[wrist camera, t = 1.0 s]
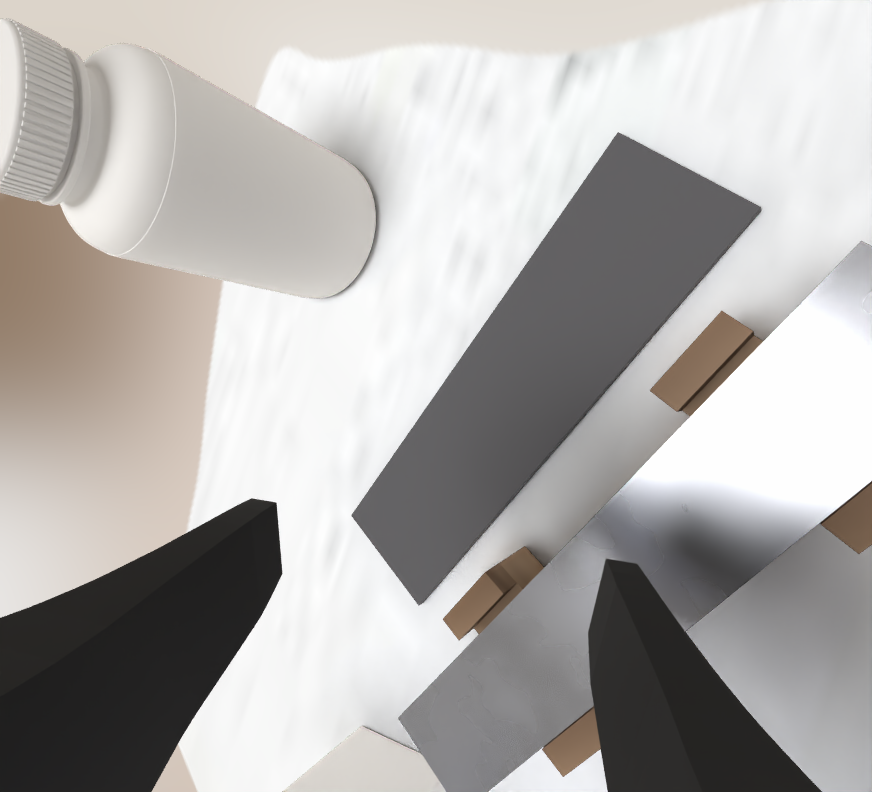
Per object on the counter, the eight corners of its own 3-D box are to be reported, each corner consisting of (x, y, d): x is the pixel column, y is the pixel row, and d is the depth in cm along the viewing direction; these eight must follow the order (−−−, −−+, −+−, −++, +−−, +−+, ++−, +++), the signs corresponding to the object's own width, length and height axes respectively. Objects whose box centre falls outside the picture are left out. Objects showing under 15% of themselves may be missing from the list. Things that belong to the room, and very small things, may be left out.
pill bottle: (400, 175, 25) (47, -35, 13) (352, 320, 27) (6, 262, 15) (306, 148, 29) (-34, -32, 17) (270, 276, 31) (-57, 201, 19)
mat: (761, 211, 17) (761, 207, 16) (423, 602, 25) (418, 605, 24) (620, 136, 19) (618, 132, 19) (356, 513, 27) (351, 515, 27)
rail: (980, 349, 12) (1049, 336, 9) (505, 749, 19) (460, 813, 16) (840, 272, 13) (861, 240, 11) (449, 672, 21) (398, 717, 18)
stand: (940, 441, 14) (989, 455, 11) (586, 723, 20) (554, 783, 17) (740, 313, 17) (735, 296, 14) (480, 594, 23) (436, 626, 20)
